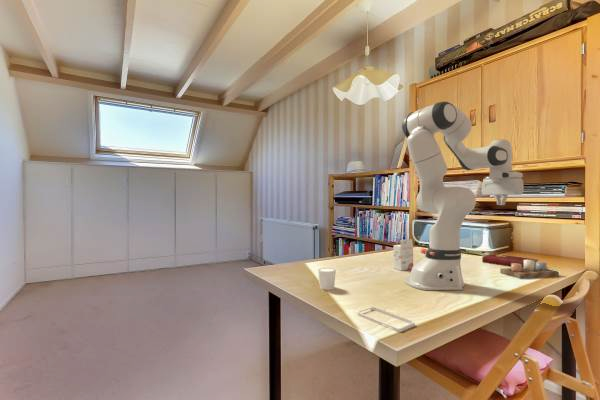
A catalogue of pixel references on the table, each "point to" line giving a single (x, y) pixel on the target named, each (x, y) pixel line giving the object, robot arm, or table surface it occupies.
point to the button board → (529, 273)
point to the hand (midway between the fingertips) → (501, 204)
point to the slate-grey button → (541, 266)
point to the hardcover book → (505, 259)
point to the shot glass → (327, 278)
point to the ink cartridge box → (403, 255)
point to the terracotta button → (516, 267)
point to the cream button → (528, 265)
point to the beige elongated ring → (388, 315)
